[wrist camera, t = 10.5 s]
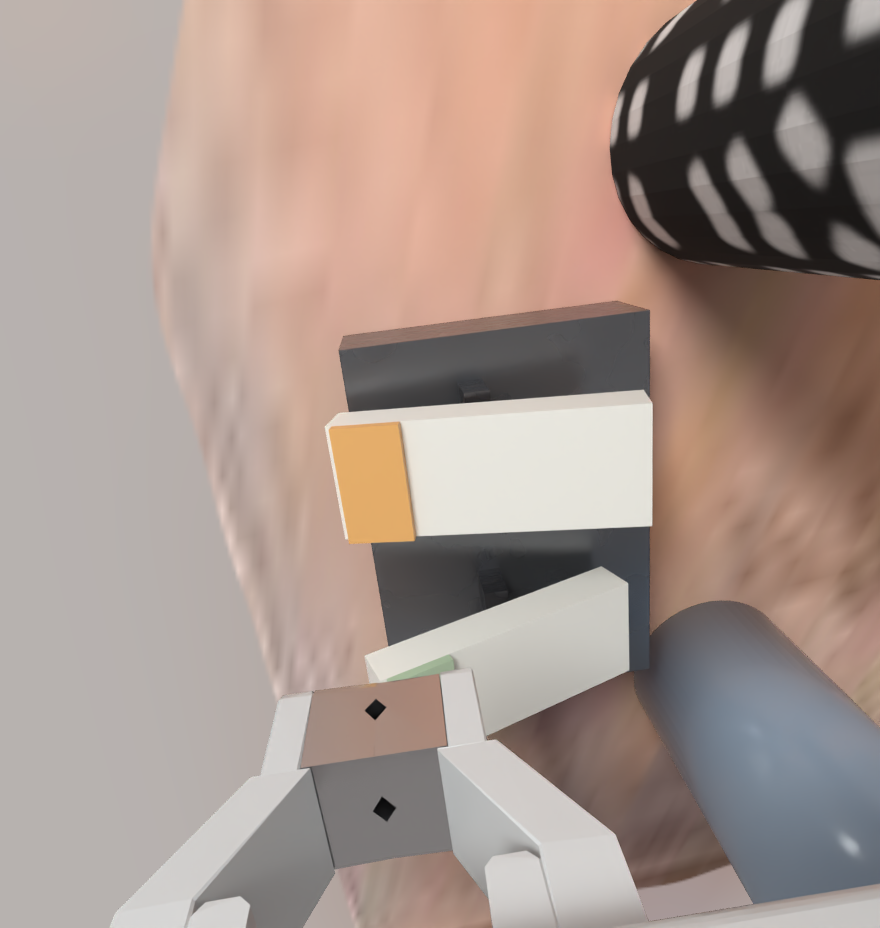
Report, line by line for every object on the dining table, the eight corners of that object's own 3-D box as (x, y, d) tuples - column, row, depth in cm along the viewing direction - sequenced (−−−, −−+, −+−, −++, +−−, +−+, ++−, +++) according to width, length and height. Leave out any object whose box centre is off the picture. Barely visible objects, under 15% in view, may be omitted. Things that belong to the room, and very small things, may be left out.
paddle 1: (643, 389, 18) (654, 405, 17) (644, 505, 19) (654, 530, 18) (338, 412, 20) (321, 430, 18) (356, 519, 21) (342, 543, 19)
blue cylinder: (786, 589, 28) (1139, 895, 15) (775, 715, 31) (1072, 1072, 18) (632, 613, 28) (858, 947, 15) (634, 738, 30) (829, 1120, 17)
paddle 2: (601, 566, 23) (634, 587, 21) (604, 649, 24) (635, 675, 23) (364, 655, 20) (383, 687, 18) (381, 747, 21) (400, 784, 19)
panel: (616, 301, 23) (671, 315, 19) (621, 625, 28) (666, 695, 24) (343, 336, 23) (335, 359, 18) (396, 660, 28) (400, 738, 23)
